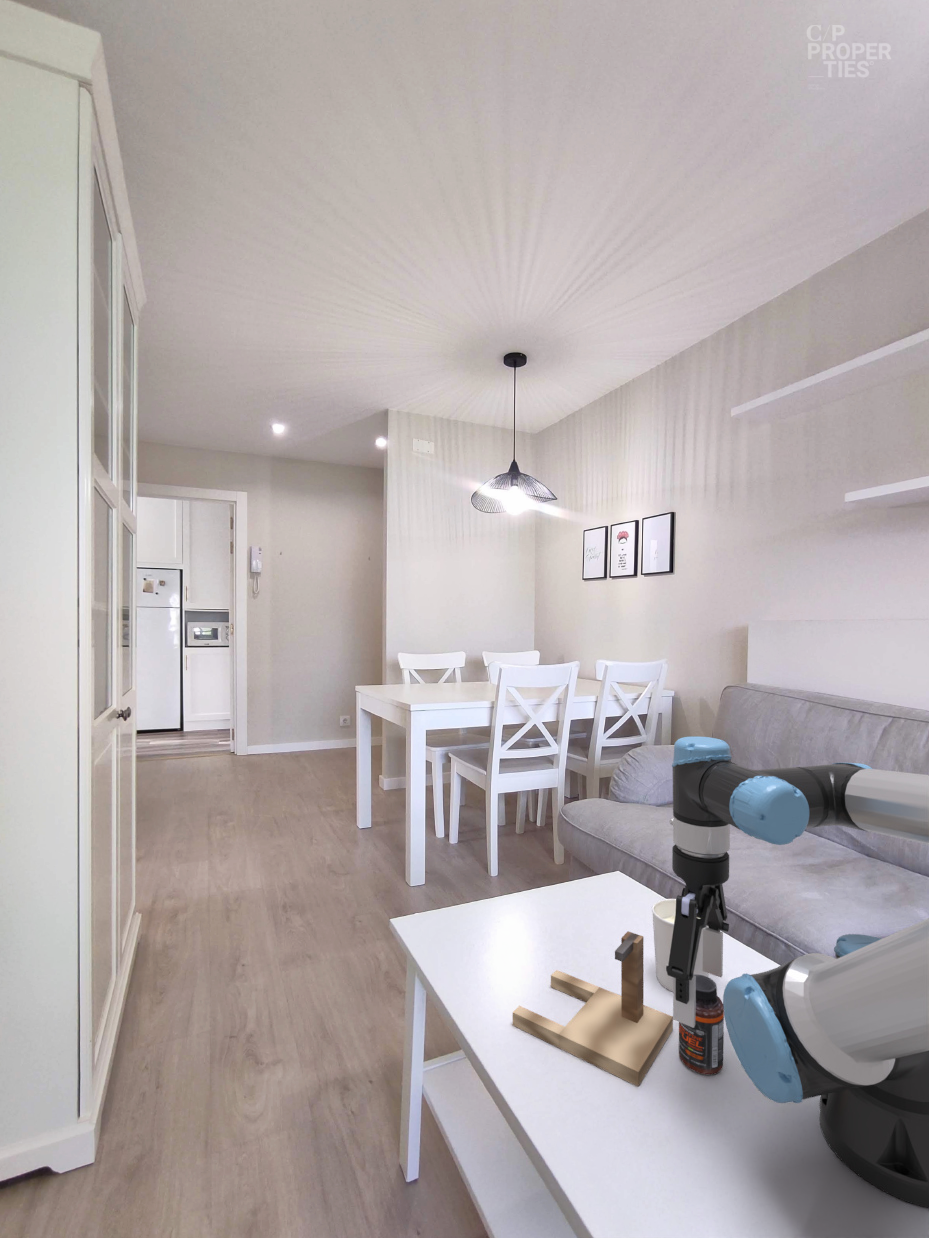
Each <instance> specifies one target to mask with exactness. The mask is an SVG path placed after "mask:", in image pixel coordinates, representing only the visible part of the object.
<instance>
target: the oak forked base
mask: <svg viewBox="0 0 929 1238" xmlns="http://www.w3.org/2000/svg"><path fill="white" fill-rule="evenodd" d="M550 988H552V989H554V990H557V991H559V992H561V993H564V994H566V995H568V996H571V997H573V998H576V999H577V1000H581V1001H583V1002H585V1003H584V1005H582V1007H580V1009H579V1010H578V1011H577V1012H576V1014H575V1015H574V1016H573V1017H572V1018H571V1019H570V1021H568V1023H567V1024H566V1025H563V1024H560V1023H559V1022H556V1021H554V1020H551V1019H550V1018H547V1017H545V1016H543V1015H541V1014H538V1013H537V1012H534V1011H533V1010H530V1009H528V1008H525V1007H523V1006H522V1005H518V1007H516V1009H514V1010H513V1012H512V1026H513V1027H515V1028H517V1029H519V1030H521V1031H524V1032H526V1033H528V1034H530V1035H532V1036H534V1037H535V1038H537V1039H540V1040H542V1041H544V1042H546V1043H548V1044H550V1045H552V1046H554V1047H556V1048H558V1049H559V1050H563V1051H564V1052H566V1053H568V1054H571V1055H573V1056H575V1057H576V1058H579V1059H581V1060H582V1061H585V1062H587V1063H589V1064H590V1065H593V1066H595V1067H597V1068H599V1069H601V1070H603V1071H605V1072H607V1073H609V1074H611V1075H613V1076H615V1077H618V1078H620V1079H622V1080H624V1081H626V1082H628V1083H630V1084H631V1085H633V1086H636V1087H640V1085H641V1083H642V1082H643V1080H644V1078H645V1077H646V1075H647V1073H648V1071H650V1068H651V1067H652V1066H653V1063H654V1062H655V1060H656V1059H657V1057H658V1055H659V1054H660V1052H661V1050H662V1048H663V1047H664V1046H665V1044H666V1041H668V1038H669V1037H670V1035H671V1034H672V1032H673V1030H674V1020H673V1015H670V1014H667V1013H666V1012H662V1011H660V1010H658V1009H655V1008H654V1007H653V1008H652V1007H650V1006H647V1005H645V1004H643V1016H642V1017H641V1019H640V1020H639V1022H638V1023H635V1022H633V1021H631V1020H628V1019H626V1018H624V1017H621V995H620V994H617V993H615V992H613V991H610V990H607V989H605V988H603V987H600V986H598V985H595V984H592V983H590V982H588V981H585V980H582V979H580V978H578V977H576V976H572V975H570V974H568V973H565V972H563V971H561V970H558V969H555V971H554V972H552V974H551V975H550Z"/></svg>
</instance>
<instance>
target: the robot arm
mask: <svg viewBox="0 0 929 1238" xmlns="http://www.w3.org/2000/svg"><path fill="white" fill-rule="evenodd" d="M672 759H673V760H672V761H673V762H672V764H671V768H672V810H673V811H672V818H670V819H669V824H670V825H671V826H673V827H672V841H673V844H674V845H673V846H672V853H671V854H672V856H671V857H672V862H671V865H672V866H671V867H672V871H673V873H674V874H675V876H677V877H678V878H680V879H681V880H682V881H683V882H684V884H685V885H684V887H683V888H682V890H681V895H679V894H678V895H677V896H676V897H675V899H676V915H675V921H674V928H673V935H672V942H671V949H670V956H669V963H668V966H667V965H666V971H667V974H668V976H671V977H673V992H672V994H673V995H672V997H673V998H672V1006H673V1007H672V1016H673V1021H676V1022H678V1023H679V1022H681V1023H683V1024H685V1025H688V1026H690V1027H693V1028H694V1027H695V1018H696V976H694V975H693V973H694V968H695V962H696V957H697V952H698V947H699V941H700V936H701V931H702V929H703V971H704V972H707V973H708V974H710V975H713V976H716V977H719V978H722V977H723V975H724V974H723V973H724V971H723V970H724V969H723V966H724V964H723V962H724V958H723V957H724V932H726V933H728V932H729V931H730V923H727V922H726V921H727V919H728V912H727V905H726V899H725V892H724V886H723V884H725V883H726V882H727V881H729V878H730V854H729V852H728V851H729V850H730V847H731V840H730V839H731V837H730V836H731V835H730V834H731V831H730V828H731V827H730V826H732V827H734V828H736V829H738V830H740V831H741V832H743V833H744V834H747V836H748V837H749V836H750V837H754V839H757V840H759V841H760V840H761V841H764V842H765V843H769V844H771V845H776V846H782V845H788V844H791V843H793V841H794V840H795V839H796V838H798V837H802V835H803V834H804V832H805V830H807V829H809V828H811V829H812V828H819V827H821V828H822V827H830V826H840V827H844V828H845V827H846V828H851V829H855V830H858V831H864V832H868V833H869V832H870V833H875V834H878V835H879V834H880V835H884V836H886V837H887V836H888V837H892V838H897V839H901V840H906V841H910V842H914V843H918V844H919V843H920V844H923V845H928V846H929V774H922V773H915V772H914V773H913V772H906V771H905V772H903V771H894V770H886V769H885V770H884V769H878V768H877V769H876V768H872V767H871V766H869V765H867V764H864V763H858V762H857V763H855V762H834V763H831V764H822V765H812V766H811V765H809V766H794V767H781V768H769V769H768V768H767V769H753V768H748V767H744V766H742V765H738V764H737V763H734V762H732V761H731V760H732V755H731V747H730V745H729V744H728V743H727V741H724V740H723V739H719V738H715V737H708V736H684V737H681V738H678V739H677V740H676V741H675V742H674V746H673V758H672ZM699 918H700V919H699ZM706 925H707V926H709V928H707V927H706ZM723 931H724V932H723ZM833 951H834V953H835V957H834V956H830V955H827V954H824V953H818V952H817V953H816V952H812V953H807V954H804V955H800V956H797V957H796V958H794V959H791V960H790V961H787V962H785V963H783V964H781V965H779V966H778V967H774V968H773V969H769V970H767V971H762V972H757V973H753V974H749V973H743V974H742V975H741V976H738V977H735V978H732V979H730V980H729V981H728V983H727V984H726V985H725V988H724V990H723V996H722V998H723V999H722V1003H723V1007H724V1022H725V1025H726V1026H725V1027H726V1030H727V1034H728V1037H729V1040H730V1043H731V1045H732V1047H733V1050H734V1052H735V1054H736V1057H737V1059H738V1062H739V1063H740V1064H741V1067H742V1068H743V1070H744V1072H745V1074H746V1075H747V1076H748V1079H750V1080H751V1082H752V1083H753V1085H754V1086H755V1087H756V1089H758V1091H759V1092H760V1093H761V1094H762V1095H763V1096H764V1097H766V1098H767V1099H769V1100H771V1101H772V1102H775V1103H778V1104H788V1103H795V1104H800V1103H802V1102H803V1100H807V1099H811V1098H815V1097H819V1105H818V1106H819V1107H818V1108H819V1111H818V1112H819V1120H818V1121H819V1125H820V1130H821V1133H822V1135H823V1137H824V1139H825V1141H826V1143H827V1144H828V1146H829V1147H830V1148H831V1150H832V1151H833V1152H834V1154H835V1155H836V1156H837V1157H838V1158H839V1159H840V1160H841V1162H843V1163H844V1164H845V1165H846V1166H847V1167H848V1168H849V1169H850V1170H852V1171H853V1172H854V1173H855V1174H856V1175H858V1176H859V1177H860V1178H862V1179H863V1180H864V1181H866V1182H867V1183H869V1184H871V1185H872V1186H874V1187H875V1188H877V1189H879V1190H881V1191H882V1192H884V1193H885V1194H886V1193H887V1194H888V1195H891V1196H892V1197H895V1198H897V1199H899V1200H902V1201H905V1202H908V1203H910V1204H912V1205H913V1204H914V1205H916V1206H920V1207H926V1208H929V917H928V918H926V919H923V920H920V921H919V922H916V923H914V924H912V925H909V926H907V927H905V928H903V929H901V930H899V931H897V932H894V933H892V934H890V935H888V936H886V937H883V938H882V937H881V938H880V937H877V936H872V935H866V934H858V933H848V934H843V935H841V936H838V938H837V939H836V943H835V945H834V948H833Z"/></svg>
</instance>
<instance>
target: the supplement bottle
mask: <svg viewBox="0 0 929 1238" xmlns="http://www.w3.org/2000/svg"><path fill="white" fill-rule="evenodd" d="M694 976H696V1018H695V1027H694V1028H693V1027H690V1026H688V1025H685V1024H683V1023H681V1022H678V1055H679V1058H680V1061H681V1062H682V1063H683V1064H684V1065H685V1066H686V1067H687V1068H688V1069H689V1070H691V1071H693V1072H695V1073H698V1074H701V1075H706V1076H708V1075H709V1076H711V1075H715V1074H718V1073H719V1072H721V1070H722V1069H723V1067H724V1044H725V1043H724V1038H725V1036H724V1035H725V1034H724V1033H725V1031H724V1030H725V1028H724V1027H725V1023H724V1022H725V1017H724V1007H723V1000H722V999H721V998H720V996H719V995H718V993H717V987H718V986H717V983H716V982H715V981H714V980H713V979H712V978H710V977H709V976H708V977H706V976H703V975H694Z"/></svg>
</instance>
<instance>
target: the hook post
mask: <svg viewBox="0 0 929 1238" xmlns="http://www.w3.org/2000/svg"><path fill="white" fill-rule="evenodd" d="M620 940H621V941H620V942H621V944H620V945H619V946H617V948H616V949H615V950H614V959H615V961H619V962H620V963H621V967H620V968H621V976H620V980H621V982H620V983H621V989H620V990H621V991H620V994H621V995H620V996H621V1017H624V1018H626V1019H628V1020H631V1021H633V1022H635V1023H638V1022H639V1020H640V1019H641V1017H642V1016H643V1005H644V936H643V935H640V934H637V933H635V932H631V931H626V932H625V933H624V935H623V936H622V937H621V939H620Z"/></svg>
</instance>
